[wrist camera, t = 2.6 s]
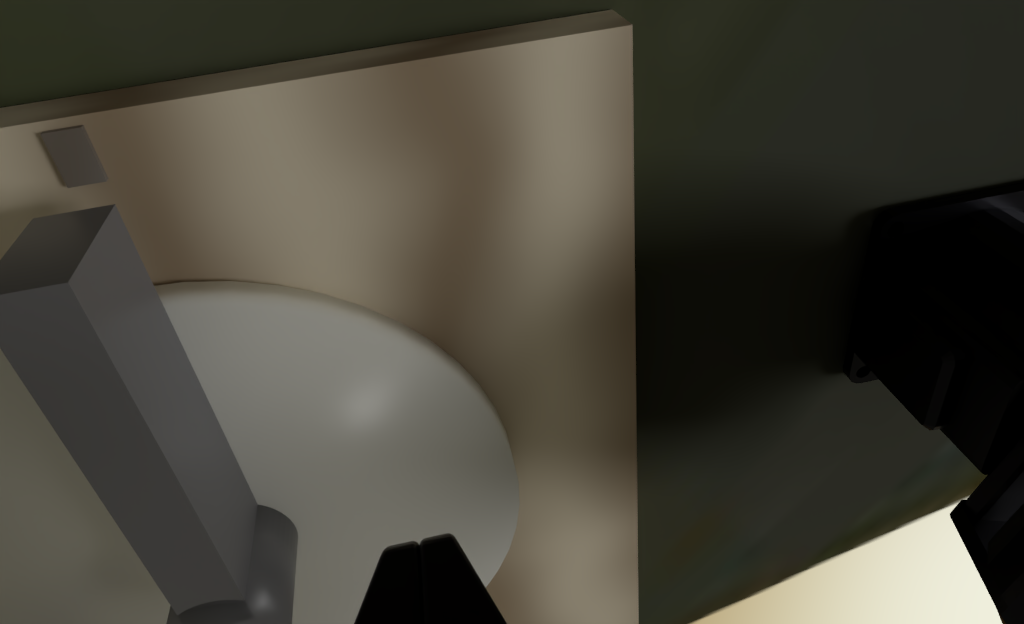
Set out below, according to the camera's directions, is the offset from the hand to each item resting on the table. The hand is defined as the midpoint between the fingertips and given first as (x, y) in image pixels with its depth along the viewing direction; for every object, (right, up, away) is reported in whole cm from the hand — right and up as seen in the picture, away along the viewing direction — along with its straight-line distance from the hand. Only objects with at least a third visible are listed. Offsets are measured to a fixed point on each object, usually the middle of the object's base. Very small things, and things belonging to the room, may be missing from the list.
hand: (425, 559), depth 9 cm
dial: (-7, -2, +12) cm, 14 cm away
